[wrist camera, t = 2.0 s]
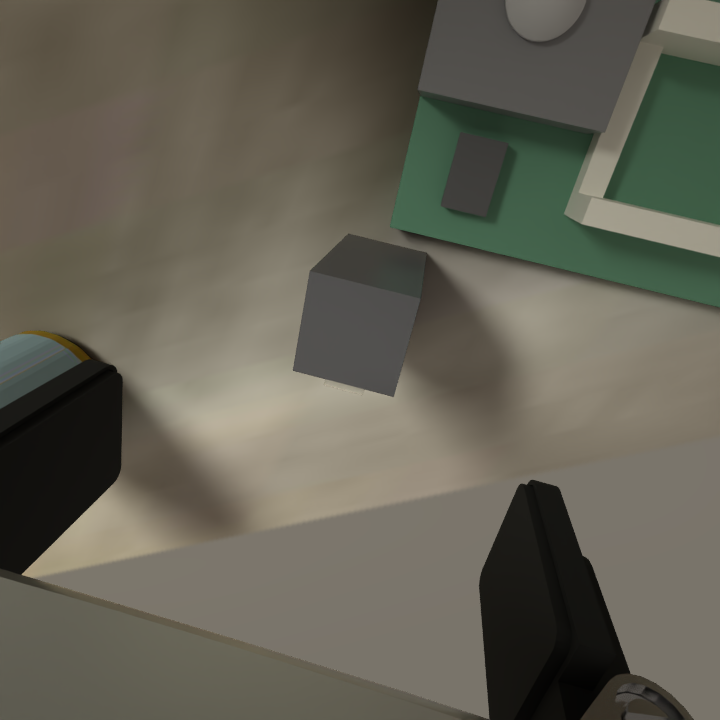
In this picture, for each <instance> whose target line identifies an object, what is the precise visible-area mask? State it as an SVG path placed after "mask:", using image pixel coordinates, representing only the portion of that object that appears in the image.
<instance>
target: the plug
mask: <svg viewBox="0 0 720 720" xmlns="http://www.w3.org/2000/svg"><path fill="white" fill-rule="evenodd" d="M426 255H427V253H425V252H421V251H417V250H413V249H409V248H405V247H400V246H396V245H392V244H388V243H384V242H380V241H376V240H372V239H368V238H364V237H360V236H356V235H352V234H348V235H347V236H346V237H345V238H344V239H343V240H342V241H340V242H339V243H338V244H337V245H336V246H335V247H334V248H333V249H332V250H331V251H330V252H329V253H328V254H327V255H326V256H325V257H324V258H323V259H322V260H321V261H320V262H319V263H318V264H317V265H316V266H315V267H313V268H312V269H311V270H310V273H309V279H308V285H307V291H306V297H305V302H304V308H303V314H302V320H301V326H300V332H299V338H298V343H297V349H296V355H295V361H294V367H293V371H296V372H300V373H304V374H308V375H311V376H315V377H319V378H323V379H325V383H324V385H326V386H330V387H334V388H337V389H341V390H345V391H349V392H353V393H356V394H360V395H363V391H364V389H365V390H369V391H373V392H377V393H380V394H384V395H388V396H392V397H394V394H395V390H396V387H397V383H398V379H399V376H400V372H401V368H402V365H403V361H404V358H405V354H406V350H407V347H408V343H409V339H410V336H411V332H412V329H413V325H414V321H415V318H416V314H417V310H418V307H419V303H420V300H421V293H422V285H423V278H424V270H425V263H426Z"/></svg>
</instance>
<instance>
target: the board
mask: <svg viewBox="0 0 720 720" xmlns="http://www.w3.org/2000/svg"><path fill="white" fill-rule="evenodd" d="M390 227H392V228H396V229H400V230H404V231H408V232H412V233H416V234H420V235H425V236H429V237H433V238H437V239H441V240H445V241H449V242H453V243H457V244H461V245H466V246H470V247H474V248H478V249H482V250H486V251H490V252H494V253H498V254H503V255H507V256H511V257H515V258H519V259H523V260H527V261H531V262H535V263H540V264H544V265H548V266H552V267H556V268H560V269H564V270H568V271H572V272H576V273H581V274H585V275H589V276H593V277H597V278H601V279H605V280H609V281H613V282H618V283H622V284H626V285H630V286H634V287H638V288H642V289H646V290H650V291H655V292H659V293H663V294H667V295H671V296H675V297H679V298H683V299H687V300H691V301H696V302H700V303H704V304H708V305H712V306H716V307H720V0H656V1H655V4H654V7H653V9H652V12H651V14H650V17H649V20H648V22H647V25H646V27H645V30H644V33H643V35H642V38H641V40H640V43H639V46H638V48H637V51H636V53H635V56H634V59H633V61H632V64H631V66H630V69H629V72H628V74H627V77H626V79H625V82H624V85H623V87H622V90H621V92H620V95H619V98H618V100H617V103H616V105H615V108H614V111H613V113H612V116H611V118H610V121H609V124H608V126H607V129H606V131H605V133H591V134H585V133H580V132H576V131H572V130H567V129H563V128H558V127H554V126H550V125H545V124H541V123H537V122H532V121H528V120H524V119H519V118H515V117H510V116H506V115H502V114H497V113H493V112H489V111H484V110H480V109H475V108H471V107H467V106H462V105H458V104H454V103H449V102H445V101H441V100H436V99H432V98H427V97H423V96H420V99H419V104H418V108H417V112H416V116H415V121H414V125H413V129H412V134H411V138H410V142H409V147H408V151H407V155H406V159H405V164H404V168H403V172H402V177H401V181H400V185H399V190H398V194H397V198H396V202H395V207H394V211H393V215H392V220H391V224H390Z"/></svg>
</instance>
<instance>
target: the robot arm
mask: <svg viewBox="0 0 720 720" xmlns="http://www.w3.org/2000/svg"><path fill="white" fill-rule="evenodd" d="M122 384H123V380H122V376H121V375H120V374H119V373H117V370H116V367H114V366H113V365H110V364H106V363H102V362H99V361H95V360H91V359H88V360H85V361H83V362H81V363H80V364H78V365H76V366H74V367H73V368H71V369H69V370H67V371H66V372H64V373H62V374H60V375H58V376H57V377H55V378H53V379H51V380H50V381H48V382H46V383H44V384H43V385H41V386H39V387H37V388H36V389H34V390H32V391H30V392H29V393H27V394H25V395H23V396H22V397H20V398H18V399H16V400H15V401H13V402H11V403H9V404H8V405H6V406H4V407H2V408H1V409H0V720H489V719H486V718H483V717H480V716H477V715H474V714H471V713H468V712H465V711H462V710H459V709H456V708H453V707H450V706H447V705H443V704H441V703H437V702H435V701H431V700H429V699H425V698H422V697H419V696H416V695H413V694H410V693H407V692H404V691H401V690H398V689H395V688H391V687H388V686H385V685H382V684H378V683H375V682H372V681H369V680H366V679H362V678H359V677H356V676H353V675H349V674H346V673H343V672H340V671H337V670H333V669H330V668H327V667H324V666H321V665H317V664H314V663H311V662H308V661H304V660H301V659H298V658H294V657H292V656H288V655H285V654H282V653H279V652H275V651H272V650H269V649H266V648H262V647H259V646H256V645H252V644H249V643H246V642H243V641H239V640H235V639H233V638H229V637H226V636H223V635H220V634H216V633H213V632H210V631H207V630H203V629H200V628H197V627H193V626H190V625H187V624H183V623H180V622H177V621H174V620H170V619H167V618H163V617H160V616H157V615H154V614H150V613H147V612H144V611H140V610H137V609H134V608H130V607H127V606H124V605H120V604H117V603H114V602H111V601H107V600H104V599H100V598H97V597H94V596H90V595H87V594H84V593H80V592H77V591H73V590H70V589H67V588H63V587H60V586H57V585H53V584H50V583H46V582H43V581H40V580H36V579H33V578H30V577H26V576H23V575H21V574H22V573H23V572H24V571H25V570H26V569H27V568H28V567H29V566H30V565H31V564H32V563H34V562H35V561H36V560H37V559H38V558H39V557H40V556H41V555H42V554H43V553H44V552H45V551H46V550H47V549H48V548H49V547H50V546H51V545H52V544H53V543H54V542H55V541H56V540H57V539H58V538H59V537H60V536H61V535H62V534H63V533H64V532H65V531H66V530H67V529H68V528H69V527H70V526H71V525H72V524H73V523H74V522H75V521H76V520H77V519H78V518H79V517H80V516H81V515H82V514H83V513H84V512H85V511H86V510H87V509H88V508H89V507H90V506H91V505H92V504H93V503H94V502H95V501H96V500H97V499H98V498H99V497H100V496H101V495H102V494H103V493H104V492H105V491H106V490H107V489H108V488H109V487H110V486H111V485H112V484H113V483H114V482H115V481H116V479H117V478H118V476H119V473H120V470H121V444H122ZM479 590H480V603H481V616H482V628H483V641H484V652H485V653H484V654H485V667H486V679H487V690H488V691H487V692H488V703H489V718H490V720H694V719H693V718H692V717H691V715H690V714H689V713H688V712H687V710H686V709H685V708H684V707H683V706H682V705H681V704H680V703H679V702H678V701H677V700H676V699H675V698H674V697H673V696H672V695H671V694H670V693H668V692H667V691H666V690H664V689H663V688H662V687H660V686H659V685H657V684H656V683H654V682H652V681H650V680H648V679H646V678H643V677H641V676H637V675H632V674H630V671H629V668H628V665H627V662H626V660H625V657H624V654H623V651H622V648H621V646H620V643H619V640H618V637H617V635H616V632H615V629H614V626H613V623H612V621H611V618H610V615H609V612H608V609H607V606H606V604H605V601H604V598H603V596H602V593H601V590H600V587H599V584H598V581H597V579H596V576H595V573H594V570H593V567H592V565H591V563H590V561H589V560H588V559H587V558H586V557H584V556H582V553H581V550H580V548H579V544H578V542H577V539H576V536H575V533H574V530H573V527H572V524H571V521H570V518H569V515H568V512H567V509H566V506H565V504H564V500H563V498H562V495H561V492H560V489H559V488H558V487H557V486H553V485H550V484H546V483H542V482H539V481H535V480H530V482H529V483H528V484H527V485H525V484H520V485H519V486H518V488H517V490H516V493H515V495H514V497H513V499H512V502H511V504H510V507H509V509H508V511H507V514H506V516H505V518H504V520H503V523H502V525H501V527H500V530H499V532H498V534H497V537H496V539H495V541H494V544H493V546H492V548H491V551H490V553H489V555H488V558H487V560H486V562H485V565H484V567H483V569H482V572H481V576H480V583H479Z"/></svg>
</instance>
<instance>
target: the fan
mask: <svg viewBox="0 0 720 720" xmlns="http://www.w3.org/2000/svg"><path fill="white" fill-rule="evenodd" d="M655 1H656V0H438V3H437V7H436V11H435V16H434V20H433V25H432V29H431V33H430V38H429V42H428V46H427V51H426V55H425V59H424V64H423V68H422V72H421V77H420V81H419V86H418V92H419V94H420V96H423V97H427V98H432V99H436V100H441V101H445V102H449V103H454V104H458V105H462V106H467V107H471V108H475V109H480V110H484V111H489V112H493V113H497V114H502V115H506V116H510V117H515V118H519V119H524V120H528V121H532V122H537V123H541V124H545V125H550V126H554V127H558V128H563V129H567V130H572V131H576V132H580V133H585V134H591V133H605V131H606V129H607V126H608V124H609V121H610V118H611V116H612V113H613V111H614V108H615V105H616V103H617V100H618V98H619V95H620V92H621V90H622V87H623V85H624V82H625V79H626V77H627V74H628V72H629V69H630V66H631V64H632V61H633V59H634V56H635V53H636V51H637V48H638V46H639V43H640V40H641V38H642V35H643V33H644V30H645V27H646V25H647V22H648V20H649V17H650V14H651V12H652V9H653V7H654V4H655Z"/></svg>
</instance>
